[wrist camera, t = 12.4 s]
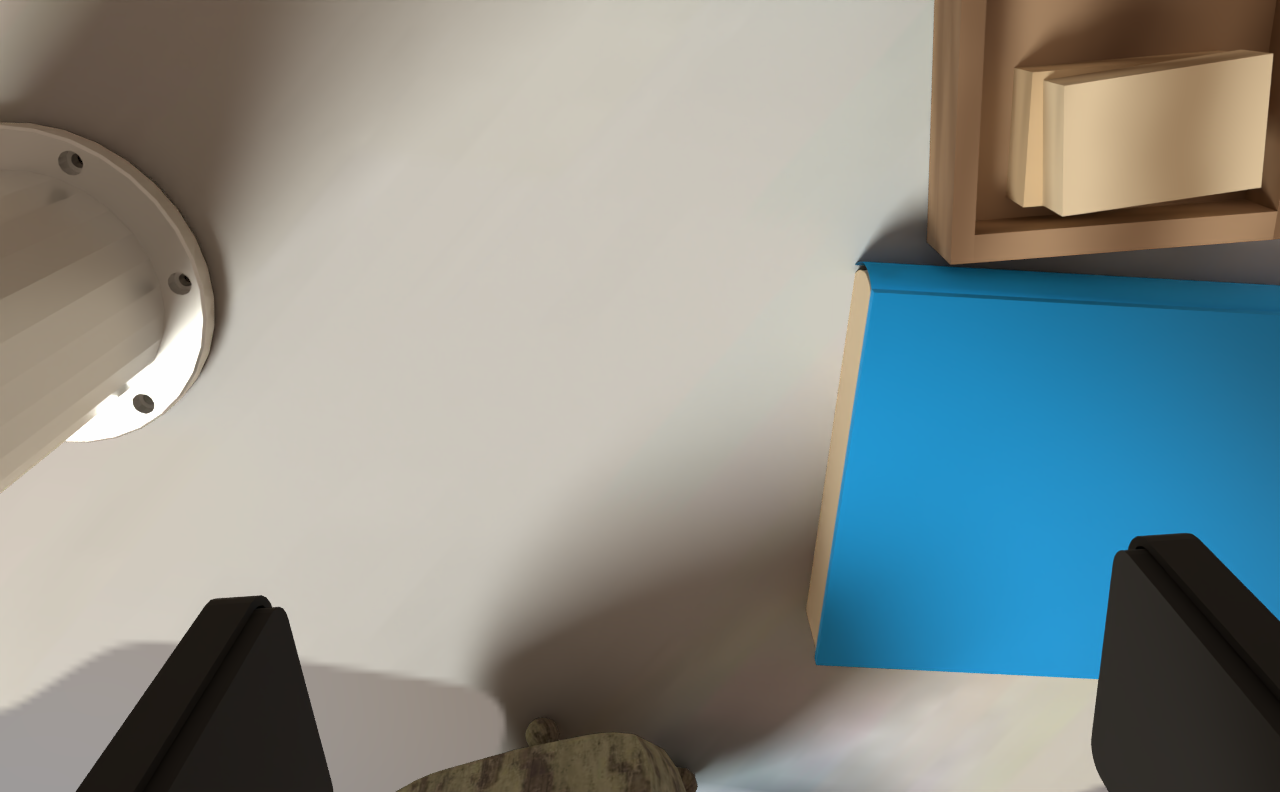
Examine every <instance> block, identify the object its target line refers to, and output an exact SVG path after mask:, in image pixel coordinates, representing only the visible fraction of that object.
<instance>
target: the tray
mask: <svg viewBox="0 0 1280 792" xmlns="http://www.w3.org/2000/svg"><path fill="white" fill-rule="evenodd" d="M1241 49H1242V50H1249V51H1257V52H1265V53H1273V63H1272V74H1271V85H1270V96H1269V107H1268V118H1267V129H1266V139H1265V150H1264V161H1263V172H1262V183H1261V188H1254V189H1247V190H1240V191H1233V192H1227V193H1220V194H1213V195H1206V196H1199V197H1193V198H1186V199H1179V200H1172V201H1165V202H1158V203H1152V204H1145V205H1138V206H1131V207H1124V208H1118V209H1111V210H1104V211H1097V212H1090V213H1083V214H1077V215H1070V216H1063V217H1062V216H1061V215H1059V214H1057V213H1055V212H1054V211H1052V210H1050V209H1049V208H1047V207H1045V206H1034V207H1022V206H1020V205H1019V204H1017V203H1015V202H1014V201H1012V200H1011V199H1009V198H1007V197H1006V189H1007V173H1008V157H1009V141H1010V125H1011V109H1012V93H1013V77H1014V68H1017V67H1029V66H1040V65H1052V64H1064V63H1076V62H1088V61H1099V60H1111V59H1123V58H1135V57H1146V56H1158V55H1170V54H1182V53H1194V52H1205V51H1217V50H1220V51H1235V50H1241ZM1273 239H1280V0H935V2H934V34H933V66H932V98H931V129H930V161H929V193H928V225H927V243H928V244H929V245H930V246H931V247H933V248H934V249H935V250H936V251H937V252H938V253H939V254H940V255H941V256H942V257H943V258H944V259H945V260H946V261H947V262H948V263H949V264H950V265H952V264H965V263H978V262H991V261H1004V260H1016V259H1029V258H1042V257H1055V256H1068V255H1081V254H1094V253H1106V252H1119V251H1132V250H1145V249H1158V248H1171V247H1183V246H1196V245H1209V244H1222V243H1235V242H1248V241H1261V240H1273Z"/></svg>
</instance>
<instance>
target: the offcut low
mask: <svg viewBox="0 0 1280 792" xmlns="http://www.w3.org/2000/svg"><path fill="white" fill-rule="evenodd" d="M1222 52H1228V51H1220V50H1217V51H1205V52H1194V53H1182V54H1170V55H1158V56H1146V57H1135V58H1123V59H1111V60H1099V61H1088V62H1076V63H1064V64H1052V65H1040V66H1029V67H1017V68H1014V77H1013V93H1012V109H1011V125H1010V141H1009V157H1008V173H1007V189H1006V197H1007V198H1009V199H1011V200H1012V201H1014V202H1015V203H1017V204H1019V205H1020V206H1022V207H1034V206H1043V205H1042V191H1043V80H1048V79H1055V78H1061V77H1067V76H1074V75H1080V74H1087V73H1093V72H1100V71H1106V70H1112V69H1119V68H1125V67H1132V66H1138V65H1145V64H1151V63H1158V62H1164V61H1170V60H1177V59H1183V58H1190V57H1196V56H1203V55H1209V54H1215V53H1222Z"/></svg>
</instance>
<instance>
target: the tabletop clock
mask: <svg viewBox="0 0 1280 792" xmlns="http://www.w3.org/2000/svg"><path fill="white" fill-rule="evenodd" d="M525 738H526V741H527V743H528V746H529V747H526V748H521V749H516V750H512V751H509V752H505V753H502V754H498V755H494V756H491V757H487V758H484V759H480V760H477V761H473V762H470V763H466V764H463V765H459V766H456V767H452V768H448V769H445V770H442V771H439V772H436V773H432V774H430V775H428V776H425V777H423V778H421V779H418V780H416V781H414V782H412V783H411V784H409V785H407V786H405V787H403V788H401V789H400V790H398V791H396V792H696V790H697V787H698V786H697V782H696V778H695V775H694V774H693V773H692V772H691V771H690V770H688V769H687V768H680V767H676V766H675V765H674V763H673V762H672V760H671V759H670V757H669V756H668V755H667V753H666V752H665V750H664V749H662V748H660V747H658V746H656V745H654V744H652V743H650V742H648V741H647V740H645V739H643V738H641V737H639V736H637V735H635V734H628V733H617V732H610V733H597V734H591V735H585V736H580V737H575V738H570V739H565V740H560V741H559V739H560V733H559V730H558V727H557V725H556V723H555V722H554V721H553V720H551V719H548V718H544V717H541V718H537V719H535V720H533V721H532V722H531V723H530V724H529V726H528V728H527V730H526V734H525Z"/></svg>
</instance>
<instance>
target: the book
mask: <svg viewBox="0 0 1280 792" xmlns="http://www.w3.org/2000/svg"><path fill="white" fill-rule="evenodd" d="M855 265H864V266H866V268H867V270H858V271H857V272H856V273H855V279H854V286H853V292H852V299H851V306H850V313H849V320H848V327H847V333H846V340H845V347H844V354H843V361H842V368H841V374H840V381H839V388H838V395H837V402H836V408H835V415H834V422H833V429H832V436H831V443H830V449H829V456H828V463H827V470H826V477H825V483H824V490H823V497H822V504H821V511H820V518H819V524H818V531H817V538H816V545H815V552H814V559H813V565H812V572H811V579H810V586H809V593H808V599H807V606H806V613H807V617H808V621H809V625H810V628H811V632H812V636H813V640H814V644H815V648H816V651H815V662H816V665H825V666H845V667H865V668H885V669H906V670H926V671H946V672H966V673H986V674H1006V675H1027V676H1047V677H1067V678H1087V679H1099V672H1100V664H1101V655H1102V647H1103V639H1104V631H1105V622H1106V614H1107V606H1108V598H1109V590H1110V581H1111V573H1112V565H1113V560H1114V556H1115V555H1116V553H1117V552H1118V551H1120V550H1128V547H1129V544H1130V542H1131V541H1132V539H1133V538H1135V537H1137V536H1146V535H1161V534H1176V533H1191V534H1193V535H1195V536H1196V537H1197V538H1199V539H1200V540H1201V541H1202V542H1203V543H1204V544H1205V545H1206V546H1207V547H1208V548H1209V549H1210V550H1211V551H1212V553H1213V554H1214V555H1215V556H1216V557H1217V558H1218V559H1219V560H1220V561H1221V562H1222V563H1223V564H1224V565H1225V566H1226V567H1227V568H1228V569H1229V570H1230V571H1231V572H1232V573H1233V574H1234V575H1235V576H1236V577H1237V578H1238V579H1239V580H1240V581H1241V582H1242V583H1243V584H1244V585H1245V586H1246V587H1247V588H1248V589H1249V590H1250V591H1251V592H1252V593H1253V594H1254V595H1255V596H1256V597H1257V598H1258V599H1259V600H1260V601H1261V602H1262V603H1263V604H1264V605H1265V606H1266V607H1267V609H1268V610H1269V611H1270V612H1271V613H1272V614H1273V615H1274V616H1275V617H1276V618H1277V619H1278V620H1279V621H1280V285H1264V284H1246V283H1229V282H1211V281H1194V280H1176V279H1159V278H1141V277H1124V276H1106V275H1089V274H1071V273H1054V272H1036V271H1019V270H1001V269H984V268H967V267H949V266H932V265H914V264H897V263H879V262H862V261H859V262H857V263H856V264H855ZM867 278H868V279H867ZM870 291H871V292H870Z"/></svg>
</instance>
